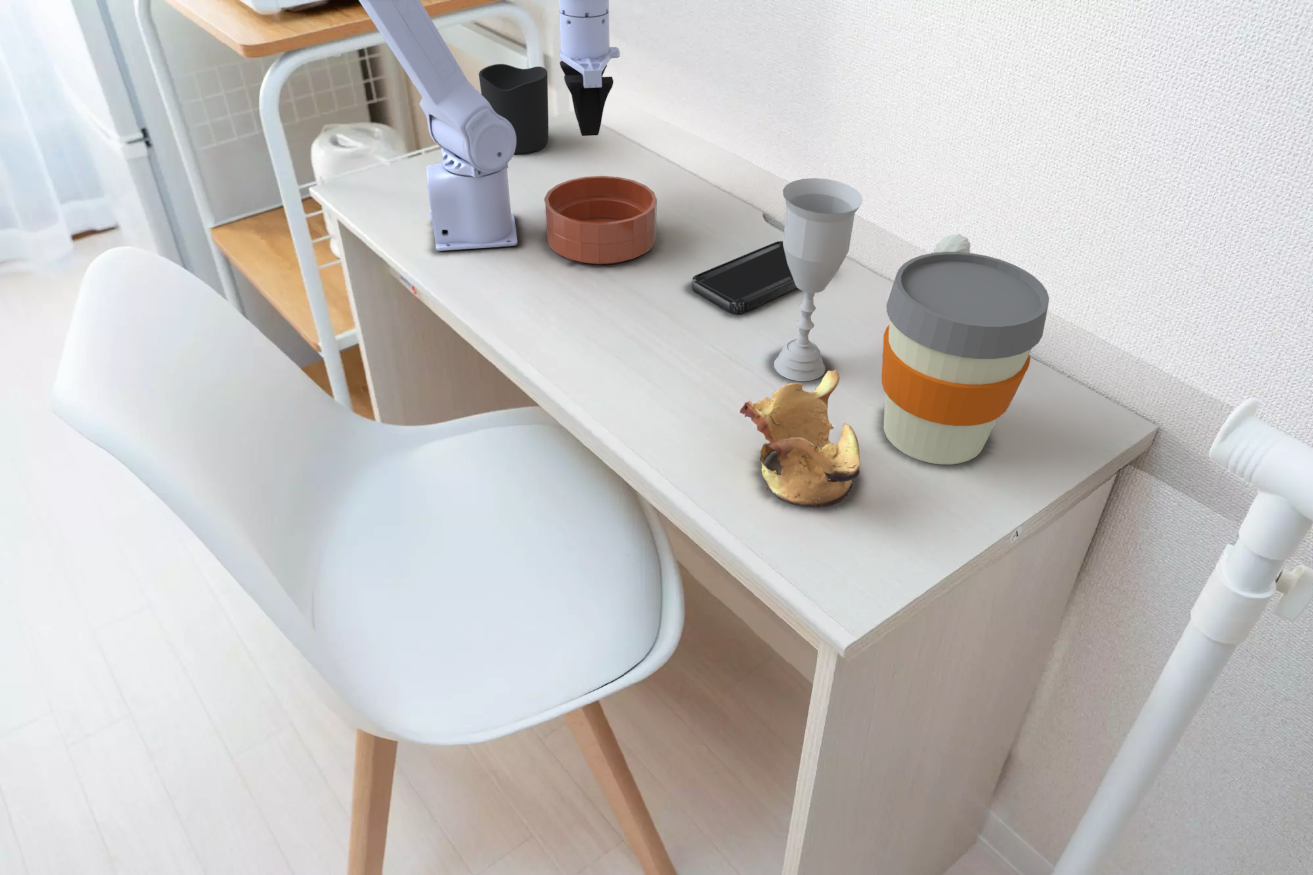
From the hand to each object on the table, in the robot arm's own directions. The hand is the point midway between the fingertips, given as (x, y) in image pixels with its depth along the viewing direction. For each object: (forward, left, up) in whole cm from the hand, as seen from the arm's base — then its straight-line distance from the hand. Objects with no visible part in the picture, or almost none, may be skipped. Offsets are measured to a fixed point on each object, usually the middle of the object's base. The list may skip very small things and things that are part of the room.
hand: (587, 127), depth 116 cm
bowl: (0, -12, -9) cm, 15 cm away
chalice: (+16, -41, -10) cm, 45 cm away
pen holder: (-8, +20, -10) cm, 24 cm away
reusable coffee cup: (+25, -53, -10) cm, 59 cm away
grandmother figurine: (+30, -40, -10) cm, 51 cm away
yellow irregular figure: (+12, -57, -10) cm, 59 cm away
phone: (+17, -24, -9) cm, 31 cm away
